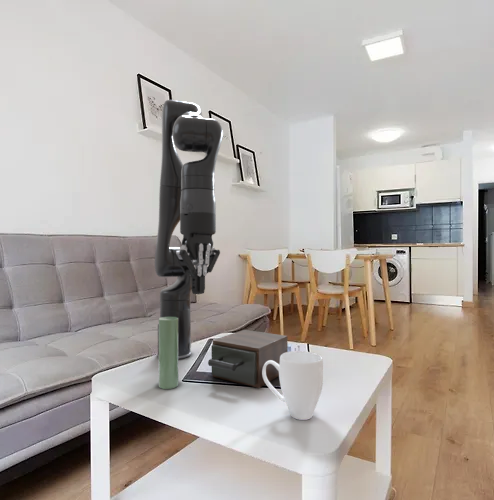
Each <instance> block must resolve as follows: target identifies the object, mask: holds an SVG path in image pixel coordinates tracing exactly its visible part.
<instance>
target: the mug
mask: <svg viewBox="0 0 494 500" xmlns="http://www.w3.org/2000/svg"><path fill="white" fill-rule="evenodd" d="M268 364H272V365H273V366H275V367H276V369H277V370H278V371H279V376H278V379H279V386H280V390H281V393H280V392H279V391H278V390H277V389H276V388H275V387H274V386H273V384H272V383H271V381H270V382H269V381H268V379H267V376H266V366H267V365H268ZM262 376H263V380H264V382H265V383H266V384H265V385H266V386H267V388H268V389H269V390H270V391H271V392H272V393H273V394H274V395H275V396H276V397H277V398H278V399H279V400H281V401H282V402H284V403H285V404H286V407H287V410H288V412H289V415H290V417H291V418H293V419H295V420H299V421H306V420H310V419H312V418H313V415H314V414H315V411H316V408H317V405H318V402H319V399H320V397H321V394H322V392H323V391H322V390H323V386H324V360H323V357H322V356H321V354H319V353H315V352H312V351H306V350H291V351H288V352H286V353H283V354H282V355H281V356H280V365H279V364H278V363H276V362H275V361H273V360H269V361H267V362H266V363H265V364H264V366H263V369H262Z"/></svg>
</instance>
